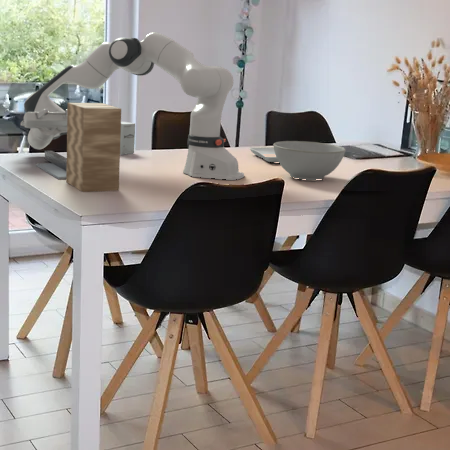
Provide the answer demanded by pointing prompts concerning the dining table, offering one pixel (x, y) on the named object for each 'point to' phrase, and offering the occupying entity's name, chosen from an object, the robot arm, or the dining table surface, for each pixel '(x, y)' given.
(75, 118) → the pedestal
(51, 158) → the bar
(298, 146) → the decorative bowl
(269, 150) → the square plate
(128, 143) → the supplement box
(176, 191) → the dining table surface
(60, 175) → the mat
